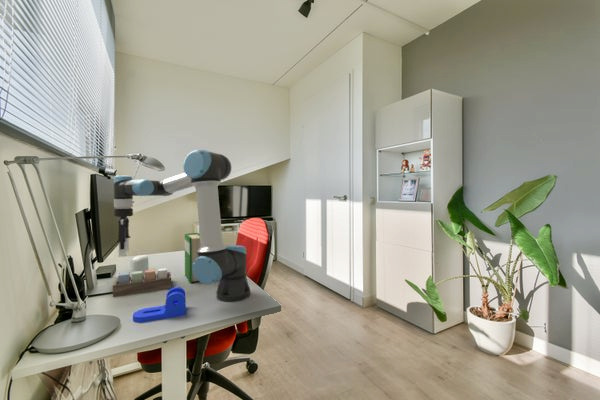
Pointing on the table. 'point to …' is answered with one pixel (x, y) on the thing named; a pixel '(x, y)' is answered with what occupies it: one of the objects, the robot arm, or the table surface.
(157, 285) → the wooden compartment tray
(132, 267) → the photo printer
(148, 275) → the peach cube
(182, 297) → the bracket
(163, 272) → the white cube
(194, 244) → the hardback book
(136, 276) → the light green cube
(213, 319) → the table surface
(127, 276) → the light blue cube
